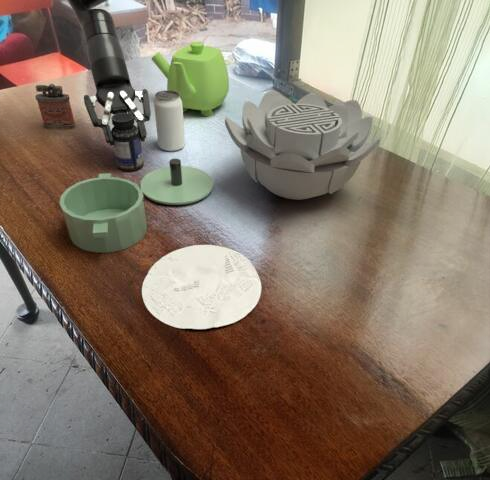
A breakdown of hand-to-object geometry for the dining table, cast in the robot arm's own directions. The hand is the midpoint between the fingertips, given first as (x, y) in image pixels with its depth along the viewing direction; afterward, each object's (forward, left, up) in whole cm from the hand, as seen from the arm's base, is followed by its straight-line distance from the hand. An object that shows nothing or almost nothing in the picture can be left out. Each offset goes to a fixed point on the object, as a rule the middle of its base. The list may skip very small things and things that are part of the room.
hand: (127, 142), depth 99 cm
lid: (+10, -9, -6) cm, 15 cm away
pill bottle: (0, +2, -7) cm, 7 cm away
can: (+10, +11, -7) cm, 16 cm away
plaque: (+12, -42, -7) cm, 44 cm away
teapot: (+16, +35, -7) cm, 39 cm away
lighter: (-18, +25, -7) cm, 31 cm away
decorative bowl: (+36, -10, -7) cm, 38 cm away
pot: (-4, -23, -6) cm, 25 cm away
